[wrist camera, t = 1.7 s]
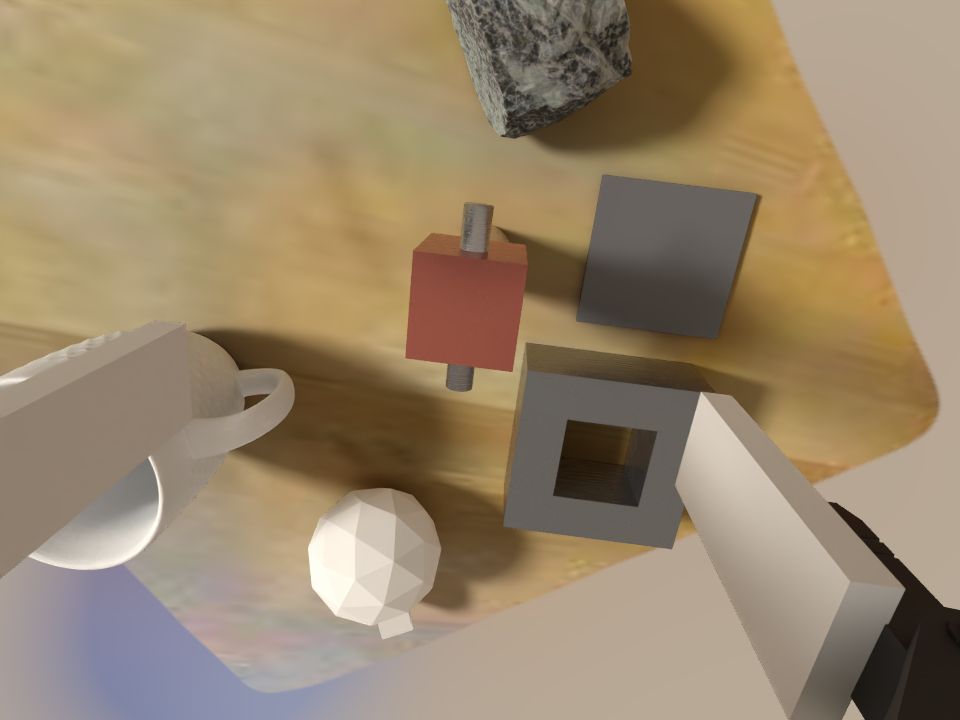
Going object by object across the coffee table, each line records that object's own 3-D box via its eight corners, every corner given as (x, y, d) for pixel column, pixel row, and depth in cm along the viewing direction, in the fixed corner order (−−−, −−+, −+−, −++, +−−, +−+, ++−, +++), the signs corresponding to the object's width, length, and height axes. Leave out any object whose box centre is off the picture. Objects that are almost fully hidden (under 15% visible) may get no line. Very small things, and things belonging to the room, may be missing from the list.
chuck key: (454, 182, 34) (416, 201, 21) (526, 191, 34) (535, 216, 21) (442, 309, 36) (402, 398, 23) (509, 318, 36) (506, 411, 23)
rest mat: (602, 174, 33) (603, 174, 33) (754, 193, 33) (757, 193, 33) (576, 319, 36) (576, 321, 36) (714, 337, 36) (716, 339, 36)
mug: (301, 283, 36) (194, 349, 24) (343, 432, 40) (268, 554, 28) (94, 316, 38) (-104, 393, 26) (152, 456, 42) (3, 581, 30)
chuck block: (525, 342, 37) (527, 370, 32) (691, 363, 37) (717, 394, 32) (504, 483, 41) (502, 526, 36) (653, 503, 41) (672, 549, 36)
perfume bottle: (295, 477, 39) (335, 594, 45) (291, 573, 31) (341, 702, 37) (415, 446, 41) (440, 563, 47) (440, 530, 33) (467, 659, 39)
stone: (400, 16, 22) (660, 9, 21) (421, -145, 25) (646, -156, 25) (434, 174, 31) (618, 174, 30) (446, 40, 34) (611, 36, 34)
